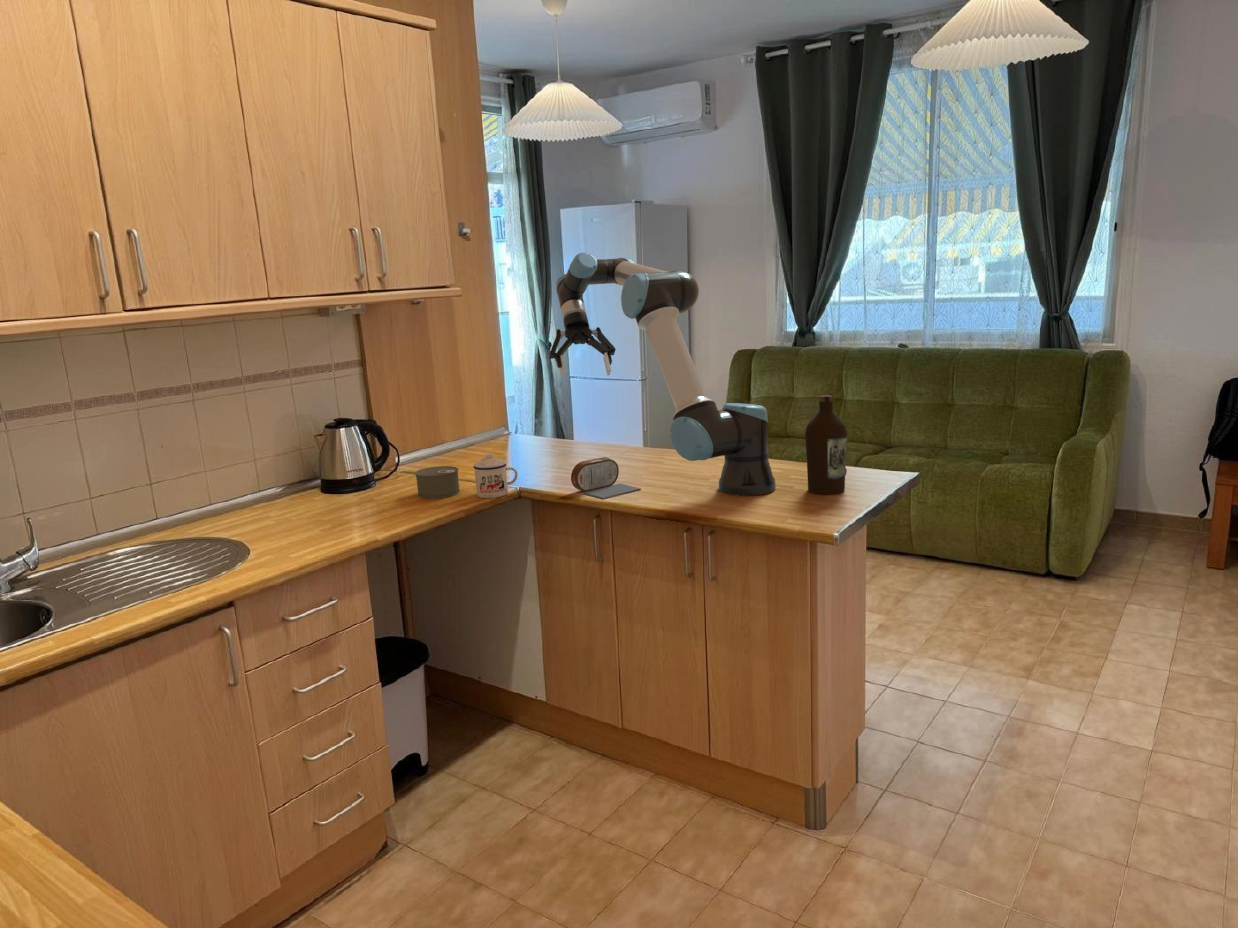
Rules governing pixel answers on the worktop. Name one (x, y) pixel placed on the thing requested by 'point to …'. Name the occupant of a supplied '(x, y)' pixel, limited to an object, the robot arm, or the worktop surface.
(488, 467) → the teacup with lid
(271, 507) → the worktop surface
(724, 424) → the robot arm
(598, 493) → the mat
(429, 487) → the can
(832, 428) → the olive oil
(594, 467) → the tin
